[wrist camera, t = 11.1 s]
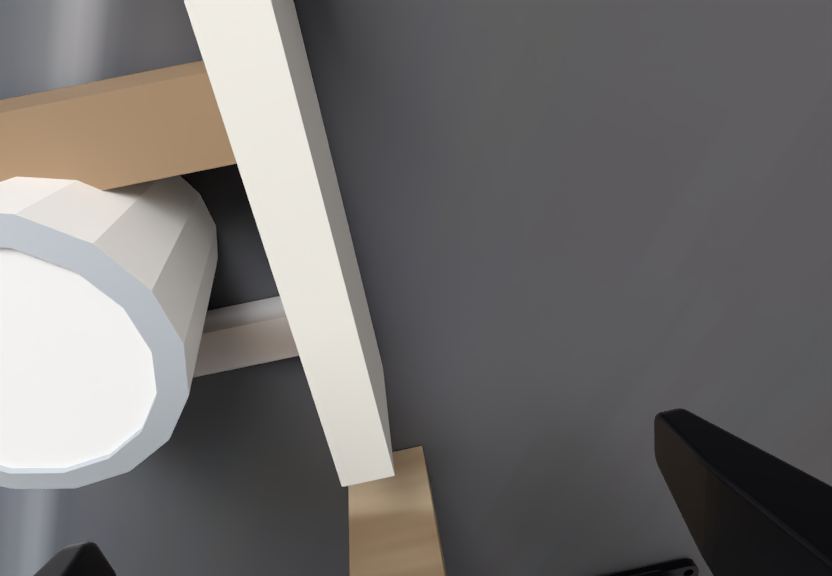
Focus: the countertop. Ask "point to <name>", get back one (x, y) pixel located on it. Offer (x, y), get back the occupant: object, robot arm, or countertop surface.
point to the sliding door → (263, 180)
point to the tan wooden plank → (368, 502)
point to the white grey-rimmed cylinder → (97, 323)
